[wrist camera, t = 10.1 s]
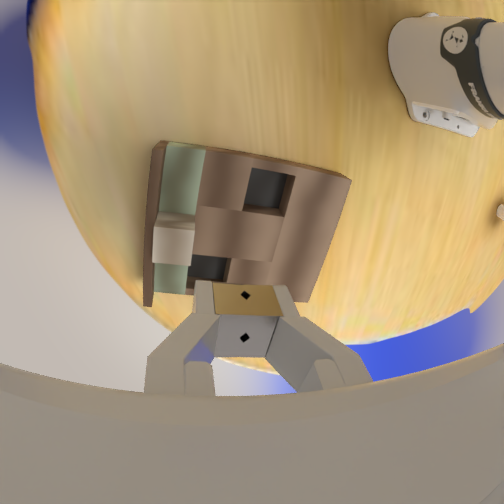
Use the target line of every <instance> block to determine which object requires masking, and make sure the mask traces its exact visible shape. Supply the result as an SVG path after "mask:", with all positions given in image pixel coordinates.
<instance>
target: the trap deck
mask: <svg viewBox="0 0 504 504" xmlns="http://www.w3.org/2000/svg"><path fill="white" fill-rule="evenodd" d="M351 182H352V180H351V179H349V178H347V177H346V176H344V175H342V174H341V173H337V172H333V171H329V170H325V169H321V168H317V167H313V166H308V165H304V164H300V163H295V162H291V161H286V160H281V159H277V158H272V157H267V156H262V155H256V154H251V153H245V152H240V151H234V150H228V149H221V148H215V147H208V146H201V145H194V144H186V143H177V142H169V141H160V142H159V143H158V144H157V145H156V146H155V147H154V148H153V150H152V157H151V165H150V174H149V184H148V194H147V206H146V220H145V238H144V266H143V306H147V307H152V301H153V295H154V292H162V293H172V294H183V295H194V288H195V281H196V280H204V281H211V282H212V281H216V282H228V283H239V284H251V285H285V286H287V288H288V290H289V292H290V294H291V297H292V299H293V301H294V302H307V303H308V301H309V298H310V296H311V293H312V291H313V288H314V286H315V283H316V281H317V278H318V276H319V273H320V270H321V268H322V265H323V263H324V260H325V257H326V255H327V252H328V249H329V246H330V244H331V241H332V238H333V235H334V232H335V230H336V227H337V224H338V221H339V218H340V215H341V212H342V209H343V206H344V203H345V200H346V197H347V194H348V191H349V188H350V185H351ZM159 211H162V212H172V213H182V214H191V215H195V234H194V242H193V250H192V258H191V266H185V265H174V264H163V263H153V262H152V254H153V233H154V225H155V221H156V218H157V215H158V212H159Z"/></svg>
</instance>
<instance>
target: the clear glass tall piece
mask: <svg viewBox="0 0 504 504" xmlns="http://www.w3.org/2000/svg"><path fill="white" fill-rule="evenodd" d="M497 217H499V218H500V219H502V220H503V221H504V205H503V204H500V205H499V207H498V209H497Z"/></svg>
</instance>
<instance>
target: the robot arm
mask: <svg viewBox="0 0 504 504" xmlns="http://www.w3.org/2000/svg"><path fill="white" fill-rule="evenodd" d="M388 56H389V62H390V67H391V70H392V73H393V76H394V78H395V80H396V82H397V84H398V86H399V88H400V89H401V91H402V93H403V94H404V96H405V99H406V102H407V107H408V111H409V115H410V117H411V118H412V120H414V121H416V122H420V123H424V124H428V125H431V126H435V127H438V128H442V129H445V130H448V131H452V132H455V133H458V134H461V135H464V136H467V137H473V136H474V135H475V134H476V133H477V131H478V129H479V127H482V128H485V129H491V128H493V127H494V126H495V124H496V123H497V121H498V119H499V120H502V119H504V22H496V21H494V20H492V19H484V18H476V19H470V18H468V17H461V16H439V15H438V14H437V13H427V14H425V15H423V16H422V17H410V18H405V19H403V20H401V21H399V22H398V23H397V24H396V25H395V26H394V28H393V30H392V32H391V34H390V37H389V43H388ZM423 114H424V115H423ZM214 357H266V358H265V359H266V360H267V361H268V362H269V363H270V364H271V365H272V366H273V367H274V369H275V370H276V371H277V372H278V373H279V374H280V375H281V376H282V377H283V378H284V379H285V380H286V381H287V382H288V383H289V384H290V385H291V386H292V387H293V388H294V389H295V390H296V391H297V393H290V394H276V395H257V396H215V387H214V379H213V370H212V365H210V364H211V362H212V360H213V359H214ZM0 504H504V343H503V344H501V345H498V346H496V347H493V348H491V349H488V350H486V351H483V352H481V353H477V354H475V355H472V356H469V357H466V358H463V359H460V360H457V361H454V362H451V363H448V364H444V365H441V366H437V367H434V368H430V369H427V370H423V371H419V372H415V373H412V374H408V375H403V376H399V377H394V378H390V379H385V380H381V381H376V382H373V380H372V378H371V376H370V375H369V373H368V371H367V369H366V367H365V365H364V363H363V361H362V359H361V358H360V356H359V355H358V354H357V353H355V352H354V351H353V350H351V349H350V348H348V347H347V346H345V345H344V344H343V343H341V342H340V341H338V340H337V339H335V338H334V337H333V336H331V335H330V334H328V333H327V332H325V331H324V330H323V329H321V328H320V327H318V326H317V325H315V324H314V323H313V322H311V321H310V320H308V319H307V318H306V317H300V315H299V312H298V310H297V308H296V306H295V303H294V301H293V299H292V297H291V294H290V292H289V290H288V288H287V286H285V285H251V284H239V283H228V282H216V281H212V282H211V281H204V280H196V281H195V288H194V298H193V309H192V313H191V314H190V315H189V316H188V317H187V318H186V319H185V320H184V321H183V322H182V323H181V324H180V325H179V326H178V327H177V328H176V329H175V330H174V331H173V332H172V333H171V334H170V335H169V336H168V337H167V338H166V339H165V340H164V341H163V342H162V343H161V344H160V345H159V346H158V347H157V348H156V349H155V350H154V351H153V352H152V353H151V354H150V355H149V356H148V358H147V367H146V377H145V387H144V393H143V392H134V391H125V390H117V389H110V388H103V387H97V386H91V385H86V384H80V383H74V382H70V381H65V380H61V379H56V378H52V377H47V376H43V375H39V374H36V373H32V372H28V371H25V370H21V369H17V368H14V367H11V366H8V365H4V364H2V363H0Z"/></svg>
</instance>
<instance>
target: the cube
mask: <svg viewBox="0 0 504 504" xmlns="http://www.w3.org/2000/svg"><path fill="white" fill-rule="evenodd" d="M194 234H195V215H191V214H182V213H172V212H162V211H159V212H158V215H157V218H156V221H155V225H154V233H153V254H152V262H153V263H163V264H174V265H185V266H191V258H192V250H193V242H194Z"/></svg>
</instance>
